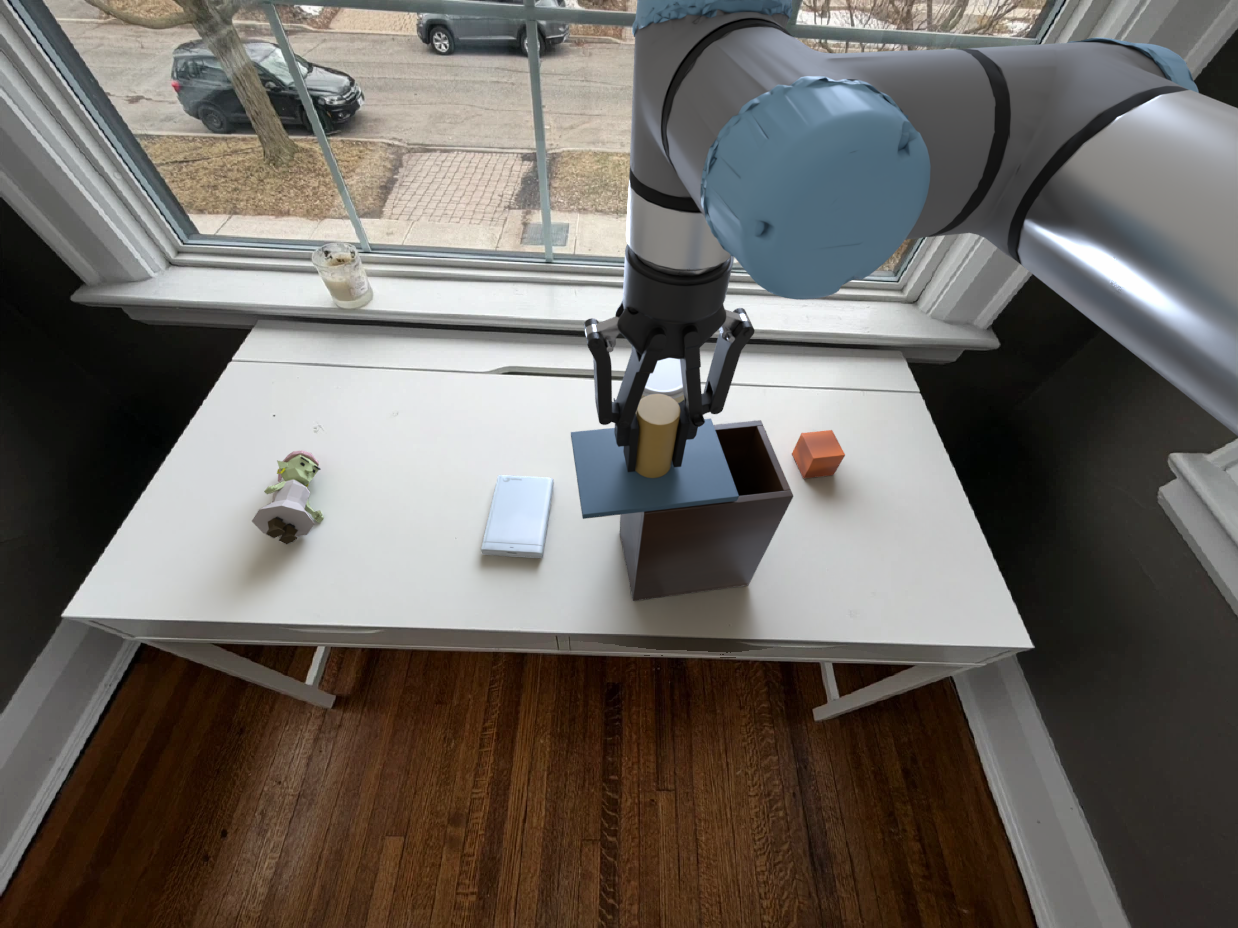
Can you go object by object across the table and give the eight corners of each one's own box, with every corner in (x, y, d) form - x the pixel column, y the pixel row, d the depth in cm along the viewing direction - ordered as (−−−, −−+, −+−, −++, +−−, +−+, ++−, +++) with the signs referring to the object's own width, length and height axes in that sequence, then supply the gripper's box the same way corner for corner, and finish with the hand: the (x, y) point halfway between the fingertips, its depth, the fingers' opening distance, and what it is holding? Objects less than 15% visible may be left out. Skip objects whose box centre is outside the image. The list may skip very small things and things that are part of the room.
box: (748, 585, 72) (793, 496, 56) (632, 601, 70) (644, 513, 54) (726, 518, 79) (761, 419, 62) (619, 531, 77) (626, 433, 60)
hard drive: (497, 474, 80) (480, 548, 72) (553, 477, 80) (541, 552, 72) (499, 480, 81) (482, 555, 74) (554, 484, 81) (542, 558, 74)
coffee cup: (683, 450, 86) (694, 395, 77) (624, 446, 86) (628, 392, 77) (682, 407, 92) (692, 351, 82) (626, 404, 92) (630, 348, 82)
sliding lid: (737, 500, 55) (758, 444, 48) (582, 519, 53) (580, 463, 46) (709, 422, 61) (724, 363, 54) (570, 436, 59) (567, 376, 52)
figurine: (271, 510, 66) (295, 424, 76) (226, 534, 68) (255, 447, 77) (329, 541, 72) (344, 458, 82) (286, 562, 74) (307, 478, 84)
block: (833, 475, 84) (845, 454, 80) (803, 478, 83) (813, 458, 79) (821, 450, 87) (832, 429, 83) (791, 453, 86) (801, 432, 82)
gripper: (780, 213, 41) (722, 424, 59) (550, 223, 39) (564, 439, 57) (818, 270, 36) (743, 479, 55) (560, 285, 34) (572, 498, 52)
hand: (652, 458), depth 56 cm, fingers closed on sliding lid, 4 cm apart
